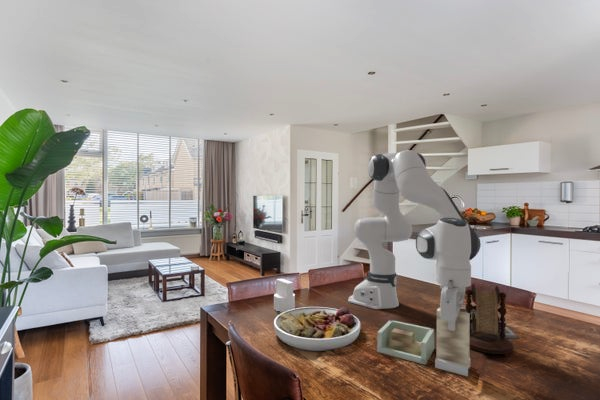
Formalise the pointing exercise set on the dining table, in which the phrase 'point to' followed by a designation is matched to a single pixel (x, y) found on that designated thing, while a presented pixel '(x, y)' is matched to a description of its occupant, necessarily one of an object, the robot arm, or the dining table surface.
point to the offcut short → (402, 336)
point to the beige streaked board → (454, 339)
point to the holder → (452, 366)
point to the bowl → (317, 328)
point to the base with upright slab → (284, 296)
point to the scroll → (488, 321)
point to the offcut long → (406, 347)
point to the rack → (420, 335)
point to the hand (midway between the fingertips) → (452, 327)
